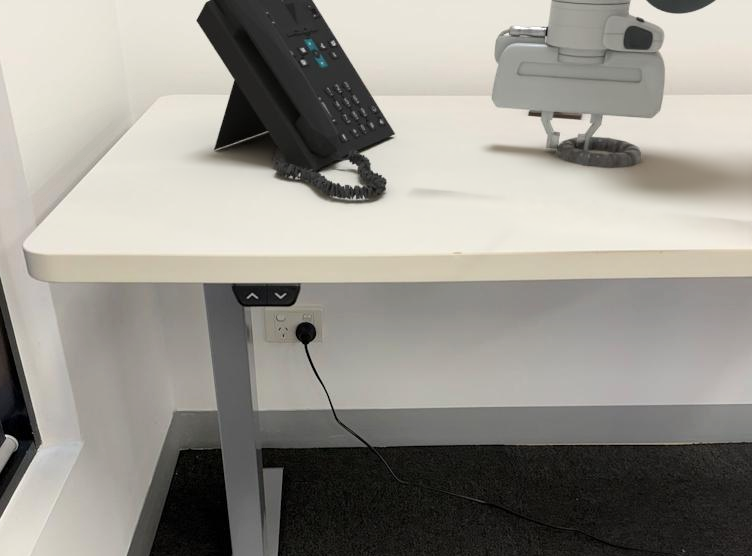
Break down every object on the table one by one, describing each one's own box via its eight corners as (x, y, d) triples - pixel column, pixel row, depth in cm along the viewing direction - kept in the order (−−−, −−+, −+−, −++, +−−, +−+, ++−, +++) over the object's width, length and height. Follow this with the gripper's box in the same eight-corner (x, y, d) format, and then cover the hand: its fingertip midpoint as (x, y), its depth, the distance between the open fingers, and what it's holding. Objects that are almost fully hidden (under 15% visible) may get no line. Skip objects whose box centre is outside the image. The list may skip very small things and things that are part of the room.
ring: (638, 157, 99) (642, 138, 97) (640, 179, 90) (644, 159, 89) (557, 150, 101) (560, 132, 100) (551, 171, 93) (554, 151, 91)
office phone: (364, 207, 81) (368, -5, 70) (163, 168, 93) (139, -19, 82) (468, 147, 102) (484, -22, 91) (294, 122, 114) (289, -31, 103)
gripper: (493, 27, 88) (481, 148, 96) (678, 36, 83) (650, 162, 91) (500, 21, 93) (488, 136, 101) (675, 29, 88) (648, 149, 96)
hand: (566, 148), depth 96 cm, fingers closed on ring, 2 cm apart
